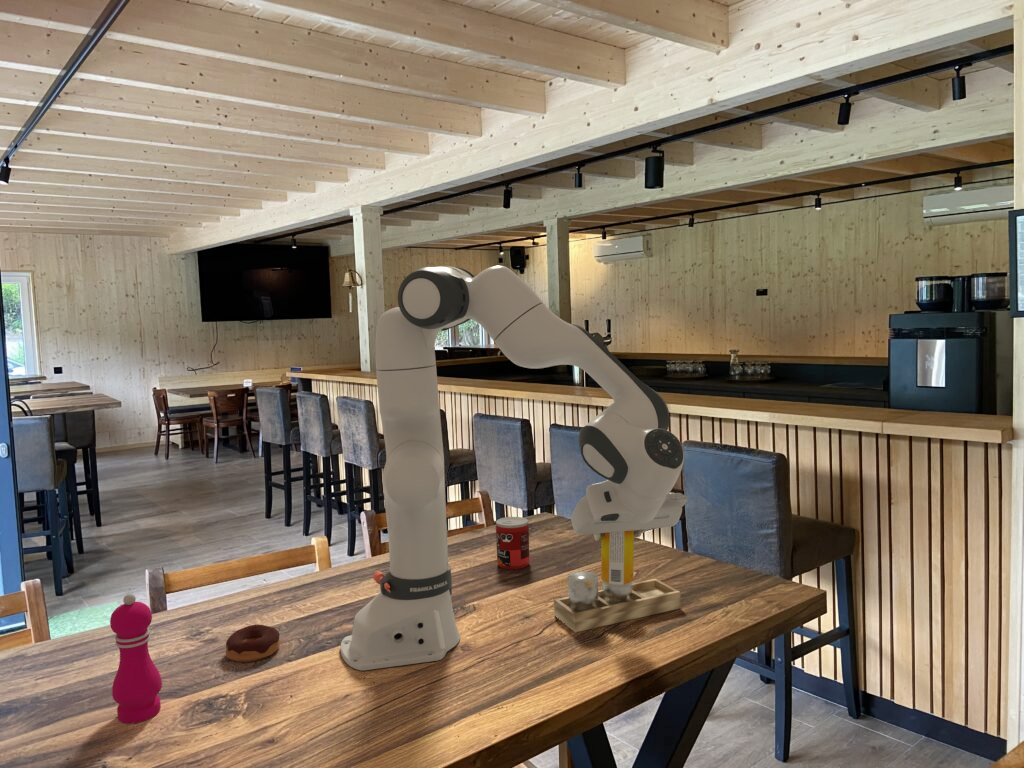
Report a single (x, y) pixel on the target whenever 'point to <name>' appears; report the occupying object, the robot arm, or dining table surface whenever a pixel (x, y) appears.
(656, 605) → the compartment tray
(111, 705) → the dining table surface
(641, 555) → the dining table surface
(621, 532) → the beer can
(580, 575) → the seated canisters
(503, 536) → the canned food
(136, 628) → the pepper mill
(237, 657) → the donut
